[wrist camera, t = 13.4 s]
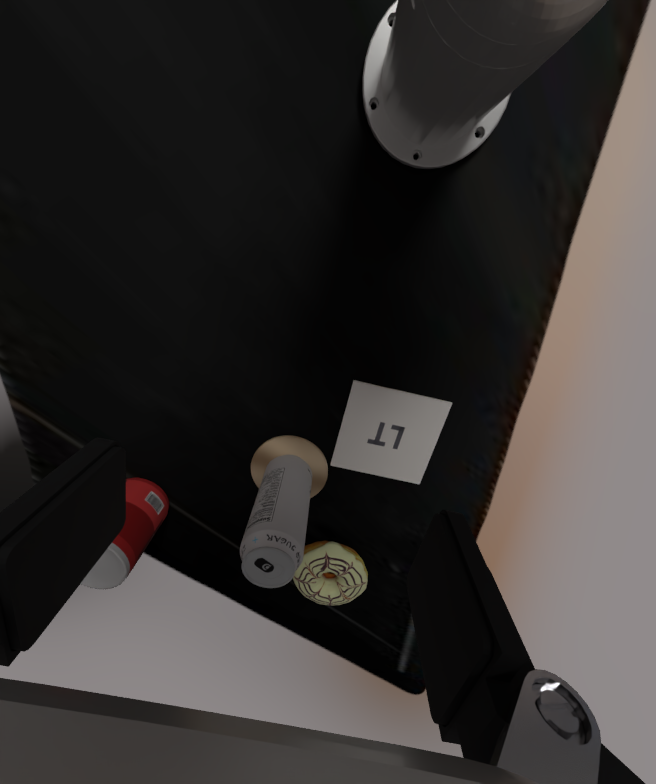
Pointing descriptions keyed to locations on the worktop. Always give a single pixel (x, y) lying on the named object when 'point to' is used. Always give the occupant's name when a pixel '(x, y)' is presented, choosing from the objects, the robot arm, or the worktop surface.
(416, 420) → the tile
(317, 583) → the decorated donut
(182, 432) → the worktop surface
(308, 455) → the cork coaster
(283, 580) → the energy drink can
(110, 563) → the canned food
